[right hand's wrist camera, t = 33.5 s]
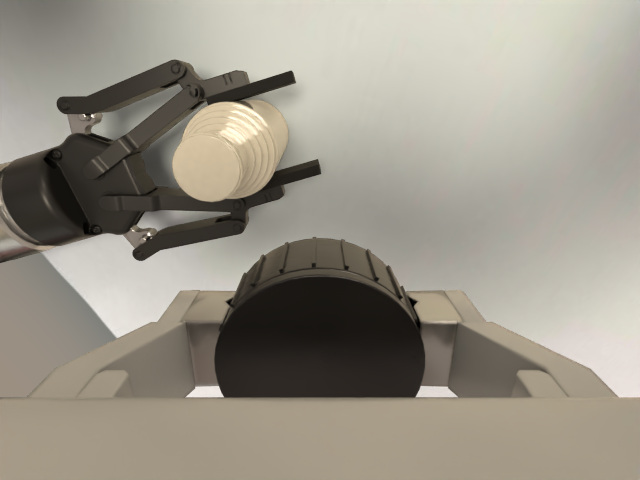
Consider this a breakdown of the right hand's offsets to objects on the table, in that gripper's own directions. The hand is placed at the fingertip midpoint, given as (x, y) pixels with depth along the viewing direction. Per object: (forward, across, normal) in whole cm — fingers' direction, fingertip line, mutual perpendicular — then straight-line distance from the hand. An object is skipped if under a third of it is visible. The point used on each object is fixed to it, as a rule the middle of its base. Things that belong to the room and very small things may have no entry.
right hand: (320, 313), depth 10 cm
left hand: (+22, +1, -4) cm, 22 cm away
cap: (-2, 0, 0) cm, 2 cm away
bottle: (+28, +6, -2) cm, 29 cm away
